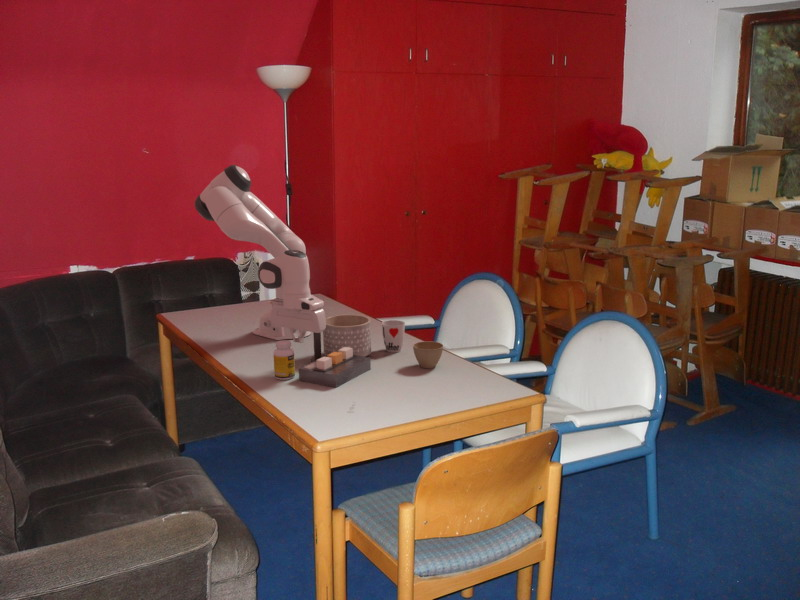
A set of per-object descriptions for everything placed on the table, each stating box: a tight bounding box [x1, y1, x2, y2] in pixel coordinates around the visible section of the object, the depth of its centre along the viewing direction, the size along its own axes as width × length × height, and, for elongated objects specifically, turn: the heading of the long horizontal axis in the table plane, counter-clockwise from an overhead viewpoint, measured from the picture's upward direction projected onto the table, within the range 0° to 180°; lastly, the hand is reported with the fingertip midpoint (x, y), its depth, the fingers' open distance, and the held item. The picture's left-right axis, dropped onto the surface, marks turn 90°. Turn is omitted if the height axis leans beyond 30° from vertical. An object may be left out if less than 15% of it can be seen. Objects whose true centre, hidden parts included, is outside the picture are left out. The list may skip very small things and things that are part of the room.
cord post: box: [310, 332, 323, 363], centre depth 254 cm, size 5×5×16 cm
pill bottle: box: [273, 339, 296, 381], centre depth 239 cm, size 6×6×12 cm
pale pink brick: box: [338, 347, 353, 359], centre depth 246 cm, size 3×4×3 cm
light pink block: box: [316, 356, 332, 370], centre depth 236 cm, size 3×4×3 cm
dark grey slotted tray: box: [298, 355, 372, 388], centre depth 242 cm, size 14×20×4 cm
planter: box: [322, 314, 372, 357], centre depth 261 cm, size 16×16×13 cm
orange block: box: [328, 352, 343, 364], centre depth 241 cm, size 3×4×3 cm
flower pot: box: [412, 340, 444, 369], centre depth 249 cm, size 10×10×7 cm
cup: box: [381, 319, 406, 353], centre depth 267 cm, size 8×8×10 cm
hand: (298, 342), depth 246 cm, fingers closed
